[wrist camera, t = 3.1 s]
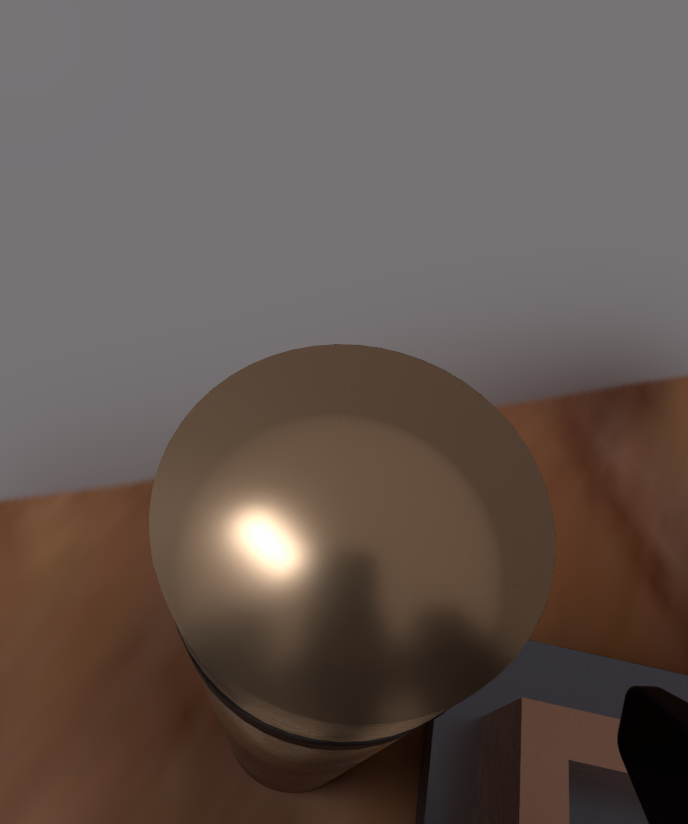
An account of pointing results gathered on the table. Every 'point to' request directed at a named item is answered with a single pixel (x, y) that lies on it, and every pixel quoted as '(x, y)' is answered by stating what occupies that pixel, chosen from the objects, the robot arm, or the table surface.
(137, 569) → the table surface
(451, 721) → the frame
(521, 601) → the gold metallic cylinder
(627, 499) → the table surface
